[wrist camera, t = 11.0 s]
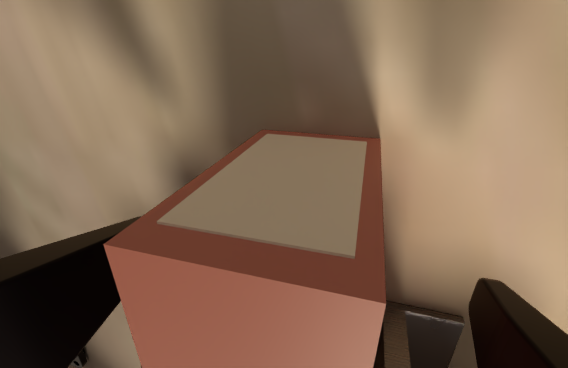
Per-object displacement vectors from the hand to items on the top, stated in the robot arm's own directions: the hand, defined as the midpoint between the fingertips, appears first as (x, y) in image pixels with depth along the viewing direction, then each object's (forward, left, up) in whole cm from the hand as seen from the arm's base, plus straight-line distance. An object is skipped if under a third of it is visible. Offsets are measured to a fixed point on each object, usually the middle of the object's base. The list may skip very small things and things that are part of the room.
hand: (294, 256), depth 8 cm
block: (0, -2, -3) cm, 4 cm away
